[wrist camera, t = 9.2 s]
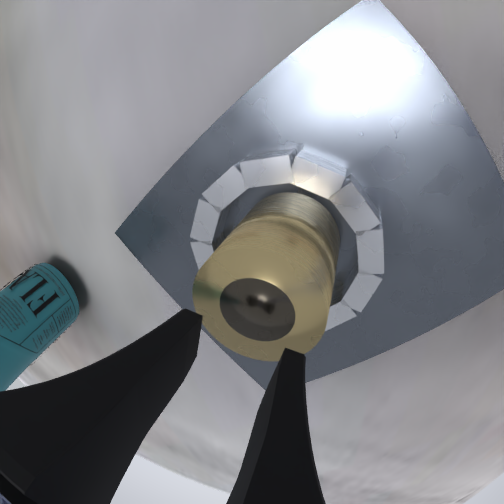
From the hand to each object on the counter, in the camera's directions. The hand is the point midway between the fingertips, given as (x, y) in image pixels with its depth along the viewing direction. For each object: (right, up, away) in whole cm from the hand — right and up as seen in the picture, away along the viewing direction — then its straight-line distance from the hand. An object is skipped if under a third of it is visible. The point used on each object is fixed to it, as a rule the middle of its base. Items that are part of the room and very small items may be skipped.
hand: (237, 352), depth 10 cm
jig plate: (+4, +4, +7) cm, 9 cm away
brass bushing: (+2, +4, +6) cm, 8 cm away
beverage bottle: (-17, 0, +17) cm, 23 cm away
